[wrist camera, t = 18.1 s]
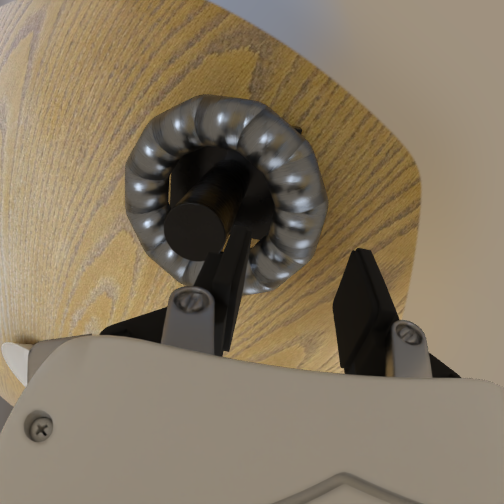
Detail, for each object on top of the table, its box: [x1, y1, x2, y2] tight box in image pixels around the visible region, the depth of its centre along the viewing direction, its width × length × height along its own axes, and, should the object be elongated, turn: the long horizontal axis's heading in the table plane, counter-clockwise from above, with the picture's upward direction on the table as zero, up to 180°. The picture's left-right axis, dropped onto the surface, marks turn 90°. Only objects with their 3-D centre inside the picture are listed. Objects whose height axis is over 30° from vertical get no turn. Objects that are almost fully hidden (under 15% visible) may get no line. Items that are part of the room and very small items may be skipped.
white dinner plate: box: [1, 342, 33, 387], centre depth 43 cm, size 25×25×4 cm
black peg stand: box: [164, 126, 302, 262], centre depth 18 cm, size 9×9×10 cm
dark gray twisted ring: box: [125, 94, 328, 296], centre depth 17 cm, size 12×12×3 cm
